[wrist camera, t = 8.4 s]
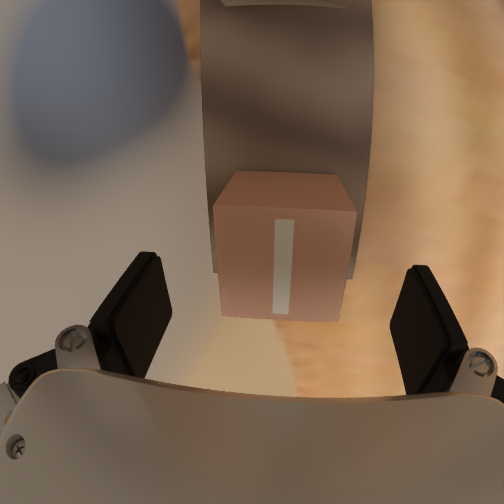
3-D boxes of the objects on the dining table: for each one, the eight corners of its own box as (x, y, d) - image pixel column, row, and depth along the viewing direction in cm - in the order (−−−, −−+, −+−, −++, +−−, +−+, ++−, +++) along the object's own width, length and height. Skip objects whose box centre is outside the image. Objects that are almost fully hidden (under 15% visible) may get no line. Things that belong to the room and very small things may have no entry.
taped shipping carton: (236, 171, 18) (212, 206, 12) (336, 174, 17) (357, 212, 12) (239, 257, 21) (221, 317, 15) (327, 261, 20) (338, 323, 15)
